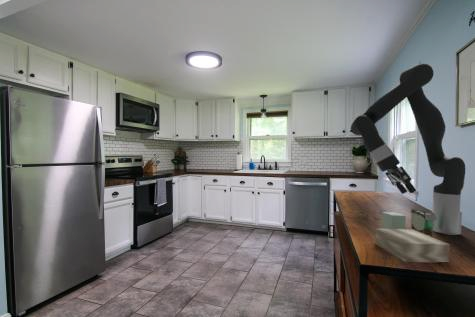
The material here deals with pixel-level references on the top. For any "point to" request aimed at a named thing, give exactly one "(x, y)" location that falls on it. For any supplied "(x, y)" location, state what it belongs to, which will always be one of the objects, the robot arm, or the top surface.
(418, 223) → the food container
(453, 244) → the top surface
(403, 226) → the sage block
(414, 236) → the birch block
